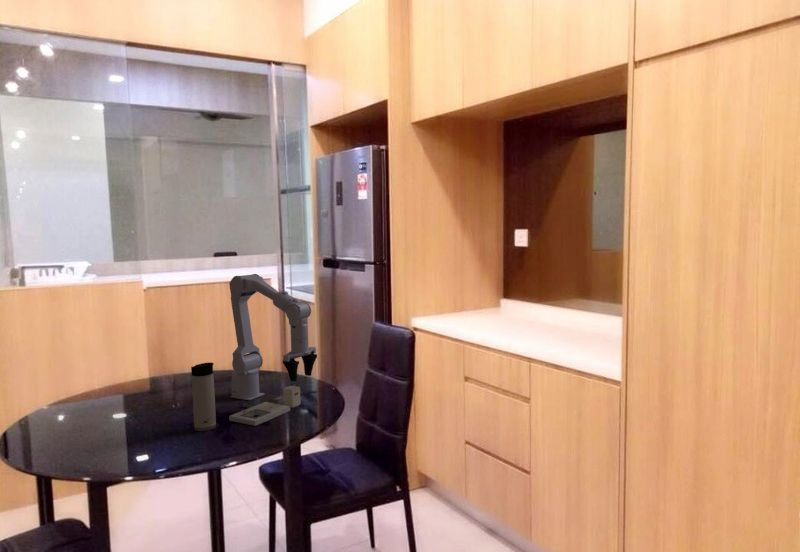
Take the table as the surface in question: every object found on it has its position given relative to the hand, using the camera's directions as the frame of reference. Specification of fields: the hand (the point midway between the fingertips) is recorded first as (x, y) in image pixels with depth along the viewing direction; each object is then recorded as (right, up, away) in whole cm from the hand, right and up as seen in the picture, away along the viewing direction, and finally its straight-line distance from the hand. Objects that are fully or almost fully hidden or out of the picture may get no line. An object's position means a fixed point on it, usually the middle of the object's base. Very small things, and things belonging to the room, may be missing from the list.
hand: (300, 378), depth 187 cm
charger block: (-3, -10, +2) cm, 10 cm away
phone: (-14, -10, +5) cm, 18 cm away
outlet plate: (-12, -11, -8) cm, 18 cm away
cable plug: (-10, -11, +3) cm, 15 cm away
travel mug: (-26, -12, -18) cm, 34 cm away
